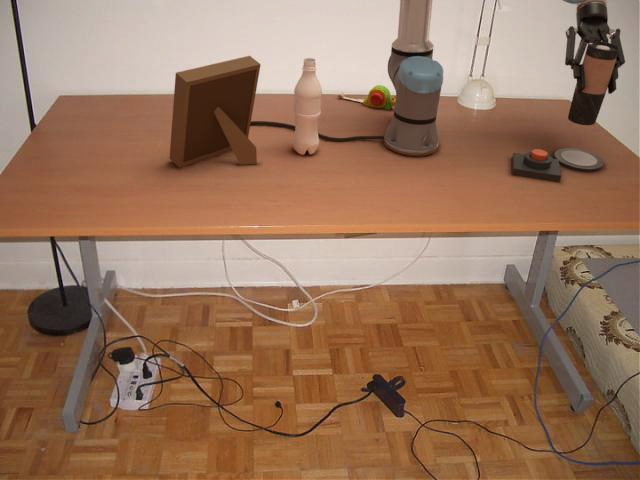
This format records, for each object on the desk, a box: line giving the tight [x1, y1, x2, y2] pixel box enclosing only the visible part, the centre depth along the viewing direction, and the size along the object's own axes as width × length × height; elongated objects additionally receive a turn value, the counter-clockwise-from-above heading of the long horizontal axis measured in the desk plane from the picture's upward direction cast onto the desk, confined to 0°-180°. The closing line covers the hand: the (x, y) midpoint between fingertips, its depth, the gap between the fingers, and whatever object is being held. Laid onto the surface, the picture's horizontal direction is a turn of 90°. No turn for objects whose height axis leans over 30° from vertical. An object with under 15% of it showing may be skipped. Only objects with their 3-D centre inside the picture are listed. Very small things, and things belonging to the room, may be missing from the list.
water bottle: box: [291, 57, 323, 156], centre depth 167 cm, size 7×7×25 cm
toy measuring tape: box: [338, 84, 396, 111], centre depth 203 cm, size 6×20×7 cm, turn 65°
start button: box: [531, 148, 548, 161], centre depth 169 cm, size 4×4×2 cm
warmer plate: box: [553, 147, 604, 173], centre depth 177 cm, size 13×13×1 cm
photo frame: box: [169, 55, 261, 169], centre depth 159 cm, size 15×22×25 cm
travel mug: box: [567, 41, 619, 126], centre depth 166 cm, size 8×8×20 cm
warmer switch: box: [511, 150, 562, 183], centre depth 170 cm, size 12×10×4 cm
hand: (596, 90), depth 164 cm, fingers closed on travel mug, 7 cm apart
